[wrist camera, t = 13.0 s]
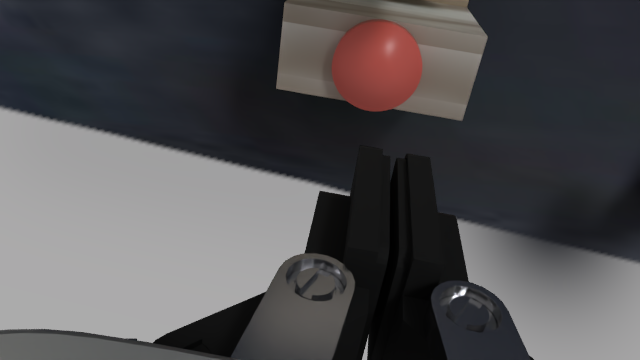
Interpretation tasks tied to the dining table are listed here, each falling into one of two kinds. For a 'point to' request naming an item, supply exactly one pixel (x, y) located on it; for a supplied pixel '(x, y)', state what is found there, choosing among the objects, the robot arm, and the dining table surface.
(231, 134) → the dining table surface
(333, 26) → the rail base
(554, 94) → the dining table surface
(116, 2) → the dining table surface
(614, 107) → the dining table surface
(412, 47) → the button
